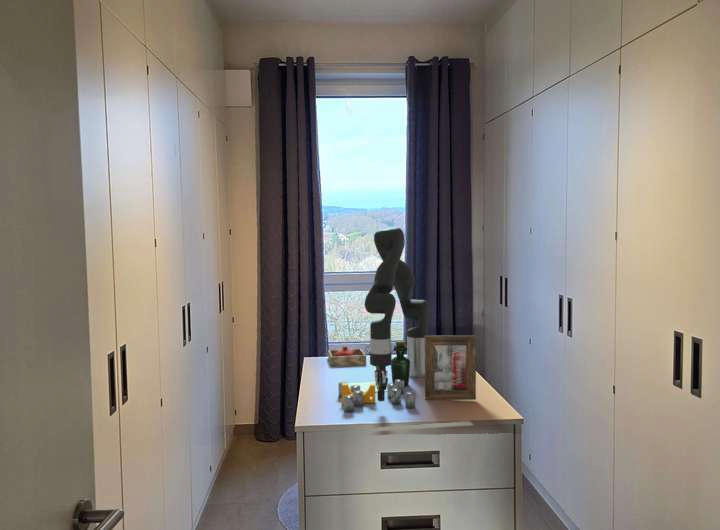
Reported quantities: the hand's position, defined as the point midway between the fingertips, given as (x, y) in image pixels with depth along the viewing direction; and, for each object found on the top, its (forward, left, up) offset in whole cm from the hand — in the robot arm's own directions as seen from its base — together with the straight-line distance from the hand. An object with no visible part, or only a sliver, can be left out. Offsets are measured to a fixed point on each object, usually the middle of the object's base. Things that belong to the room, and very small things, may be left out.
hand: (381, 400), depth 178 cm
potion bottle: (-14, -31, -4) cm, 35 cm away
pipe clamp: (+6, -11, -4) cm, 13 cm away
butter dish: (+4, -73, -4) cm, 73 cm away
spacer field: (0, -12, -4) cm, 13 cm away
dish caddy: (+3, -73, -4) cm, 73 cm away
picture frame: (-28, -9, -4) cm, 30 cm away
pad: (+1, -30, -4) cm, 30 cm away
